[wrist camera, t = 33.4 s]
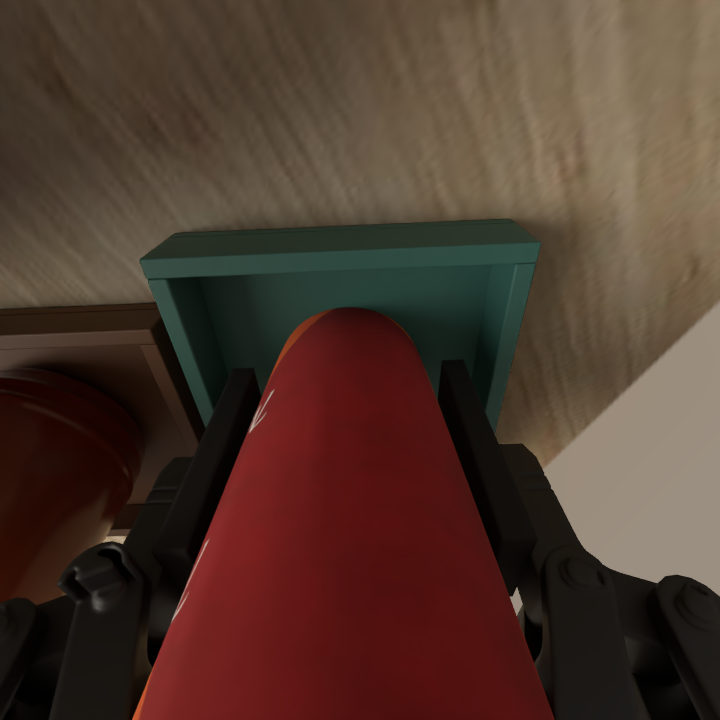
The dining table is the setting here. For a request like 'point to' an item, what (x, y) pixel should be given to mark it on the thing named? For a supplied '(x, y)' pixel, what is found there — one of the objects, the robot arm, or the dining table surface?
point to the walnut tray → (114, 375)
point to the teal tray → (345, 295)
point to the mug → (58, 475)
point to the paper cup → (346, 557)
